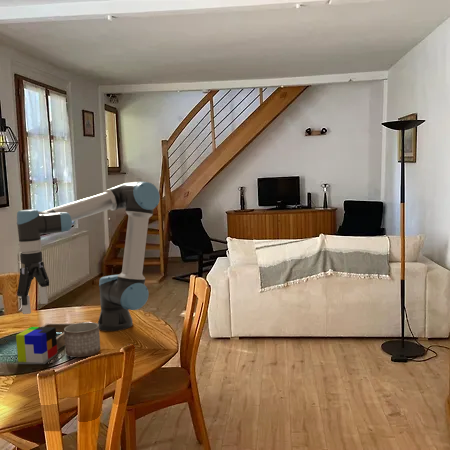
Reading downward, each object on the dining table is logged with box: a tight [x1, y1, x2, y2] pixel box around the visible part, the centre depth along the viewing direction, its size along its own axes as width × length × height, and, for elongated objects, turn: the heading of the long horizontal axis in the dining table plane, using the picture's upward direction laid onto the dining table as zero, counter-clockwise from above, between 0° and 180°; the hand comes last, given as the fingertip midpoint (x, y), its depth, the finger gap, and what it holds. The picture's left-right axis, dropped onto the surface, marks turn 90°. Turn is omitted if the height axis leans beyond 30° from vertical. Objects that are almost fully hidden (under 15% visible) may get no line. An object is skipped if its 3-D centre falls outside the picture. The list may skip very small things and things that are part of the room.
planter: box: [64, 321, 101, 358], centre depth 190 cm, size 13×13×10 cm
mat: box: [18, 353, 58, 365], centre depth 186 cm, size 10×10×1 cm
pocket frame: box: [41, 322, 76, 351], centre depth 204 cm, size 23×14×4 cm, turn 173°
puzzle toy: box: [15, 326, 58, 363], centre depth 186 cm, size 10×10×10 cm
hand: (35, 308), depth 186 cm, fingers open, 13 cm apart
